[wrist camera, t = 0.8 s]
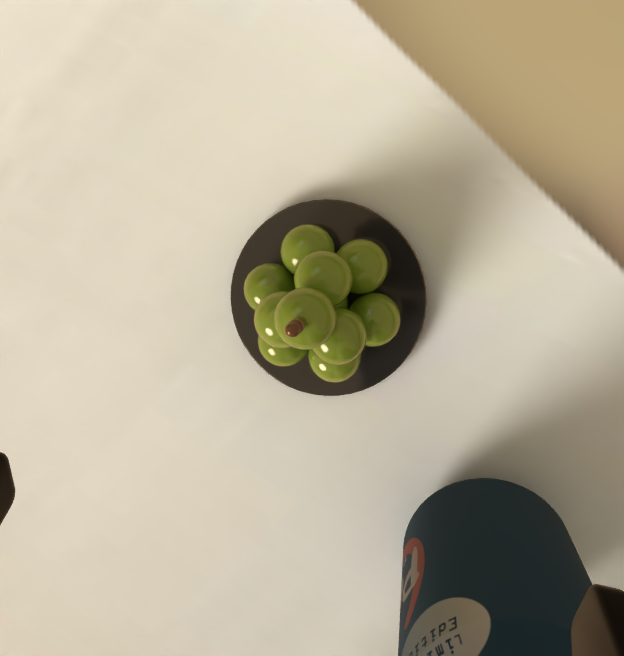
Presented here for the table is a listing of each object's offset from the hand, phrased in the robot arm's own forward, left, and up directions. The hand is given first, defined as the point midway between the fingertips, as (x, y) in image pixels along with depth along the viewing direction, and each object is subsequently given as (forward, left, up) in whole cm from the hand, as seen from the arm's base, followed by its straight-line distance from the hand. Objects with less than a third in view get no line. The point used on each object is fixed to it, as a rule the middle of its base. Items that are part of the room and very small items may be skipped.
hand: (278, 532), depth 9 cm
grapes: (0, +2, -17) cm, 18 cm away
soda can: (-3, -10, -18) cm, 21 cm away
